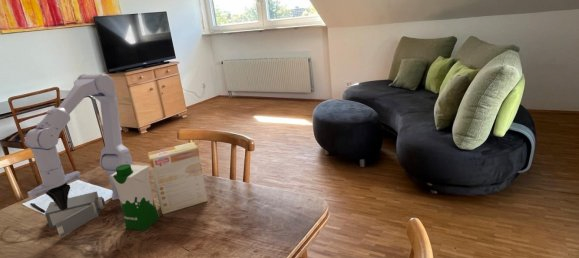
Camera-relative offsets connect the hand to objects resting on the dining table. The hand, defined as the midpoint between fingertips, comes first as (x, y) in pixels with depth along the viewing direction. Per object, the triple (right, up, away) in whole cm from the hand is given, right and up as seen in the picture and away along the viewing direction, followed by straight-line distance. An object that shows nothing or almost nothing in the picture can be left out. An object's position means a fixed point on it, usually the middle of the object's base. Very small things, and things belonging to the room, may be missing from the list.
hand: (63, 208), depth 112 cm
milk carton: (+24, -5, +2) cm, 24 cm away
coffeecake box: (+33, -1, +11) cm, 35 cm away
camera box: (-1, -5, +9) cm, 11 cm away
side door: (+4, -6, +2) cm, 8 cm away
